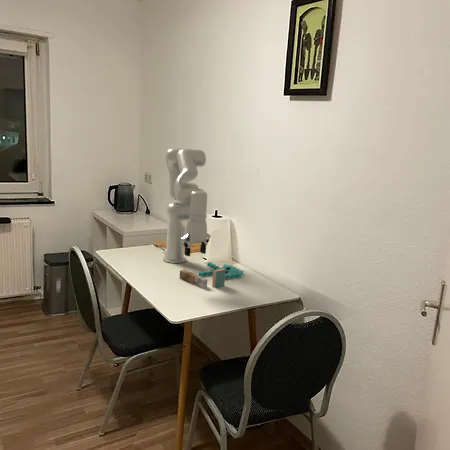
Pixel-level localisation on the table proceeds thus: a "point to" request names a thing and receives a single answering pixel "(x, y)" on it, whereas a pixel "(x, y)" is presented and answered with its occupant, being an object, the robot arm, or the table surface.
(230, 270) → the alien figure
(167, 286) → the table surface
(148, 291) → the table surface
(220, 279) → the tile
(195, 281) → the brown flat bar
